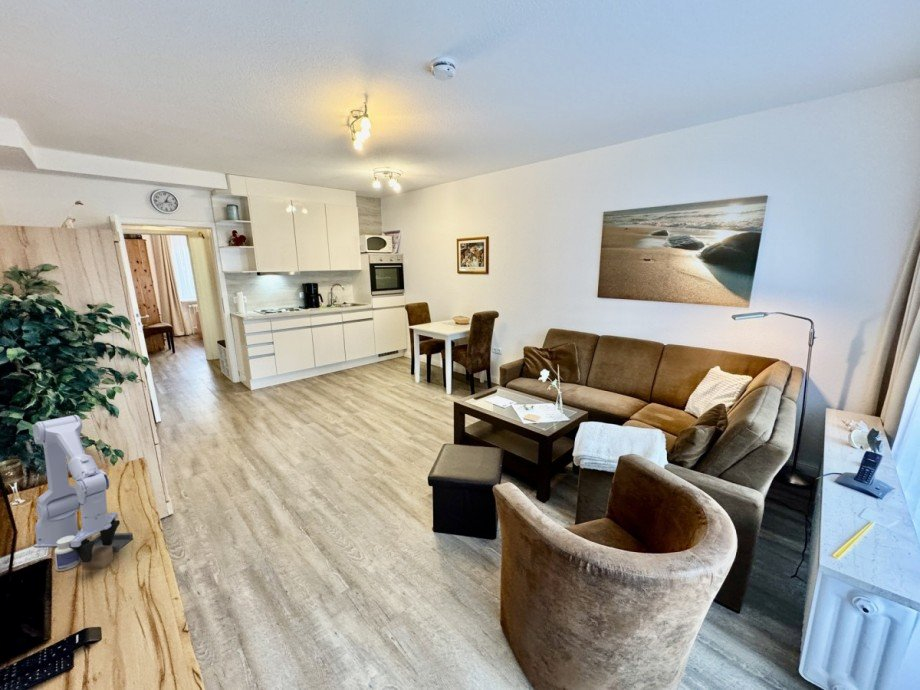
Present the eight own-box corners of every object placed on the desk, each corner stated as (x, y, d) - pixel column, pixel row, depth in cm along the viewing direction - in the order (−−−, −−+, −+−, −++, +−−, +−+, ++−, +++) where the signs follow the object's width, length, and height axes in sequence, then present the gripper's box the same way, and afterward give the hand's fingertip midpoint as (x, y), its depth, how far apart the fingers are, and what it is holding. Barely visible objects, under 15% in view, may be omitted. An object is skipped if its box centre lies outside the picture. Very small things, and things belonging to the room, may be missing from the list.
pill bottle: (84, 562, 117) (82, 536, 116) (62, 573, 112) (59, 546, 111) (73, 557, 119) (71, 532, 118) (51, 568, 114) (49, 542, 113)
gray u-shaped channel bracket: (81, 553, 121) (80, 547, 121) (99, 539, 128) (99, 533, 128) (116, 552, 122) (116, 546, 122) (132, 538, 129) (132, 533, 129)
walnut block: (82, 569, 114) (81, 554, 114) (92, 561, 118) (91, 546, 117) (104, 568, 115) (102, 554, 115) (113, 560, 119) (112, 546, 118)
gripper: (88, 526, 108) (91, 569, 109) (126, 499, 122) (129, 537, 124) (61, 527, 107) (64, 570, 109) (103, 500, 121) (106, 538, 123)
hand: (97, 553), depth 116 cm, fingers open, 7 cm apart
